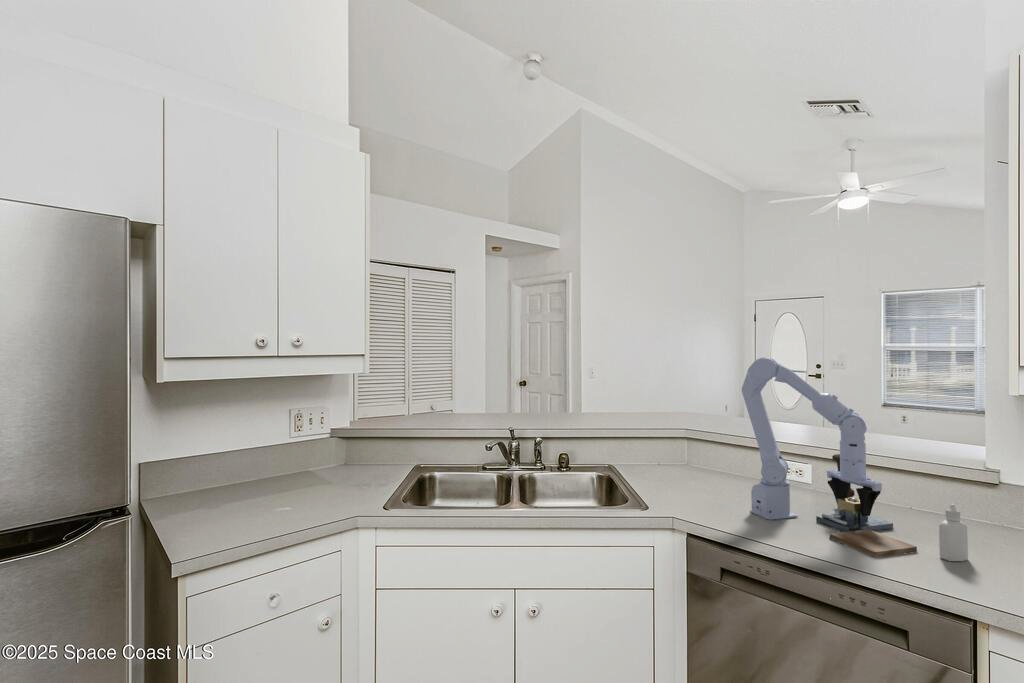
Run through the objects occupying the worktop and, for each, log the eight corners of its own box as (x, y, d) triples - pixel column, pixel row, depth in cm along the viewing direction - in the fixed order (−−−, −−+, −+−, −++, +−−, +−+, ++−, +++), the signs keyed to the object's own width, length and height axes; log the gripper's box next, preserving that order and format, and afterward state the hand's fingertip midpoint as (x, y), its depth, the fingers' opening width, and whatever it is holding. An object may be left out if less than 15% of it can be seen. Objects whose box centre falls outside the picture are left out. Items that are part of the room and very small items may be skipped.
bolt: (858, 510, 148) (857, 458, 148) (839, 509, 149) (838, 457, 149) (849, 504, 153) (848, 454, 153) (831, 503, 154) (830, 453, 154)
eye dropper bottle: (933, 553, 117) (932, 500, 117) (963, 556, 115) (962, 502, 115) (943, 561, 112) (942, 506, 113) (975, 564, 111) (973, 508, 111)
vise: (849, 534, 129) (848, 506, 129) (816, 521, 139) (815, 495, 139) (893, 529, 132) (892, 501, 133) (858, 517, 142) (857, 491, 142)
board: (875, 557, 115) (875, 552, 115) (829, 538, 126) (829, 533, 126) (916, 552, 118) (916, 546, 118) (868, 533, 129) (868, 529, 129)
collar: (854, 513, 133) (854, 504, 133) (837, 508, 137) (837, 498, 137) (869, 512, 134) (869, 502, 134) (852, 506, 139) (852, 497, 139)
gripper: (891, 464, 130) (892, 518, 130) (841, 453, 144) (842, 502, 144) (868, 466, 128) (869, 521, 128) (820, 454, 142) (821, 504, 142)
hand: (853, 511), depth 136 cm, fingers open, 6 cm apart
